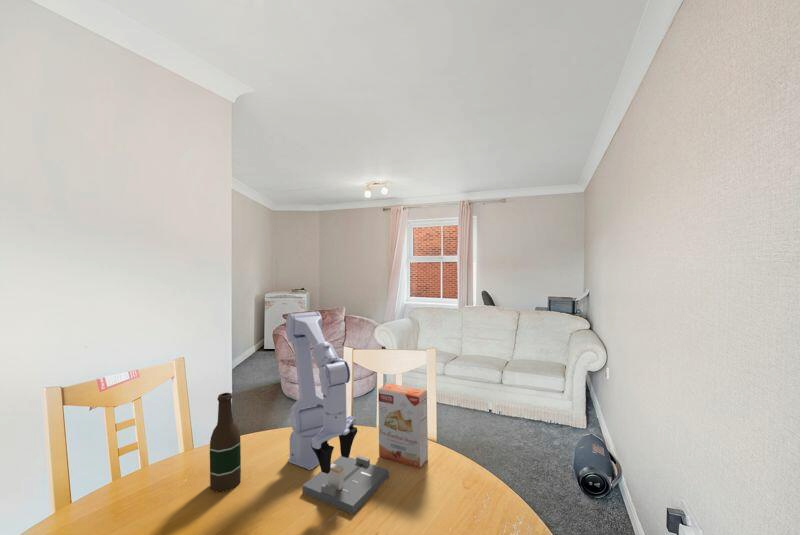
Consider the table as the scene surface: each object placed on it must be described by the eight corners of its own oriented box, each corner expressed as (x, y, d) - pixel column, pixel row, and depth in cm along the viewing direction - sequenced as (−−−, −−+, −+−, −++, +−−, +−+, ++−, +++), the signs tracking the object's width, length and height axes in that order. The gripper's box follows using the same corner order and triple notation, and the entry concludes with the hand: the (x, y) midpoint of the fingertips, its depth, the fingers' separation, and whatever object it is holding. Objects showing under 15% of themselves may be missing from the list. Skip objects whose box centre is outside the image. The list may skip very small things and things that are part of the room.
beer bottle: (246, 483, 92) (245, 393, 92) (215, 497, 86) (214, 402, 86) (235, 471, 97) (234, 387, 97) (205, 484, 91) (204, 394, 91)
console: (302, 493, 87) (302, 479, 87) (342, 461, 101) (342, 449, 101) (353, 514, 79) (352, 499, 79) (388, 477, 93) (388, 464, 93)
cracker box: (378, 457, 103) (377, 388, 103) (388, 448, 108) (387, 382, 108) (419, 470, 96) (418, 396, 96) (428, 459, 102) (427, 389, 102)
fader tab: (328, 486, 86) (327, 466, 86) (332, 482, 88) (332, 463, 88) (339, 490, 85) (339, 470, 85) (343, 486, 86) (343, 467, 86)
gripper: (327, 425, 78) (328, 484, 78) (364, 402, 91) (365, 454, 91) (305, 418, 81) (305, 475, 81) (343, 398, 94) (344, 447, 94)
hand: (335, 464), depth 86 cm, fingers open, 7 cm apart
